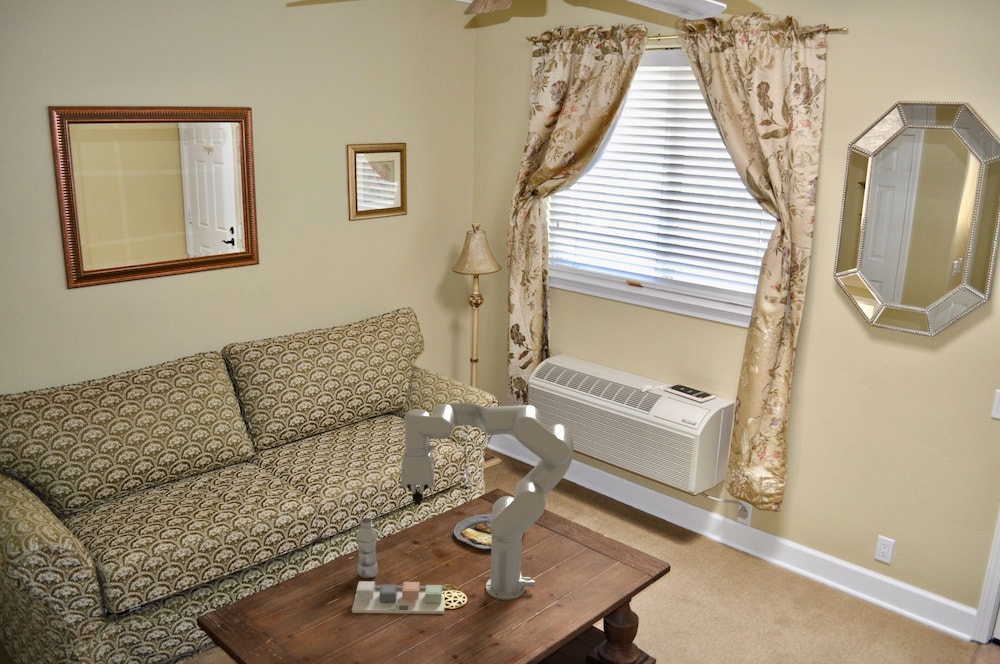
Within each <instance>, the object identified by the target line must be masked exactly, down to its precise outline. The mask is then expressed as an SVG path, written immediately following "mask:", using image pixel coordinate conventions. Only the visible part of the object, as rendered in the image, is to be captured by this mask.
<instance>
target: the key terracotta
mask: <svg viewBox="0 0 1000 664" xmlns="http://www.w3.org/2000/svg"><path fill="white" fill-rule="evenodd" d="M420 582H421V581H403V583H402V586H403V589H402V599H408V600H419V593H420V586H421V583H420Z"/></svg>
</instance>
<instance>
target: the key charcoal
mask: <svg viewBox="0 0 1000 664" xmlns="http://www.w3.org/2000/svg"><path fill="white" fill-rule="evenodd" d="M380 585H381V589H380V593H379V596H380V602H396V599H397V593H398V588H397V585H398V584H393V583H392V584H387V583H384V584H383V583H382V584H381V583H380Z"/></svg>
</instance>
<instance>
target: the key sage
mask: <svg viewBox="0 0 1000 664" xmlns="http://www.w3.org/2000/svg"><path fill="white" fill-rule="evenodd" d="M425 586H426V590H425V603H441V600H442V586H443V585H442V584H426V585H425Z"/></svg>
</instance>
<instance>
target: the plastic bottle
mask: <svg viewBox="0 0 1000 664" xmlns="http://www.w3.org/2000/svg"><path fill="white" fill-rule="evenodd" d="M359 526H360V528H359V529H358V530H357V532H356V536H355V537H356V542H357V546H358V547H357V549H358V563H357V574H358V575H359V576H360V577H361V578H363V579H372V578H374V577H376V576H377V574H378V573H379V572H378V571H379V564H378V562H377V561H378V560H377V554H376V552H377V551H376V549H377V548H376V546H377V538H378V537H377V536H378V535H377V531H376V530H375V529H374V528H373V519H372V518H369V517H366V518H365V517H364V518H362V519H360V525H359Z"/></svg>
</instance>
